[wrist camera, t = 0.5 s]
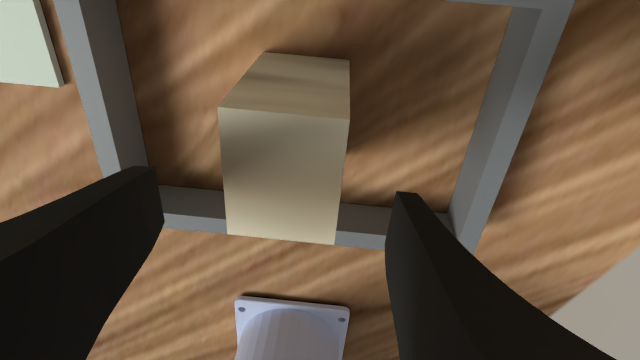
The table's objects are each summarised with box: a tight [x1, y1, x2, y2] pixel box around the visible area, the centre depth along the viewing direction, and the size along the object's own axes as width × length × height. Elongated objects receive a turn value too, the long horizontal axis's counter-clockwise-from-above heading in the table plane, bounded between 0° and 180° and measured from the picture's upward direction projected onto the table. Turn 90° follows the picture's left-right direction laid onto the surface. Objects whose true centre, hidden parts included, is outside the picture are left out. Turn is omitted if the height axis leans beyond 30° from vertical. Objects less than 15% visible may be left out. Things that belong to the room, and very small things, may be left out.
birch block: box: [217, 52, 350, 245], centre depth 15 cm, size 5×4×7 cm
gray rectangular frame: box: [53, 0, 575, 255], centre depth 17 cm, size 13×19×2 cm
